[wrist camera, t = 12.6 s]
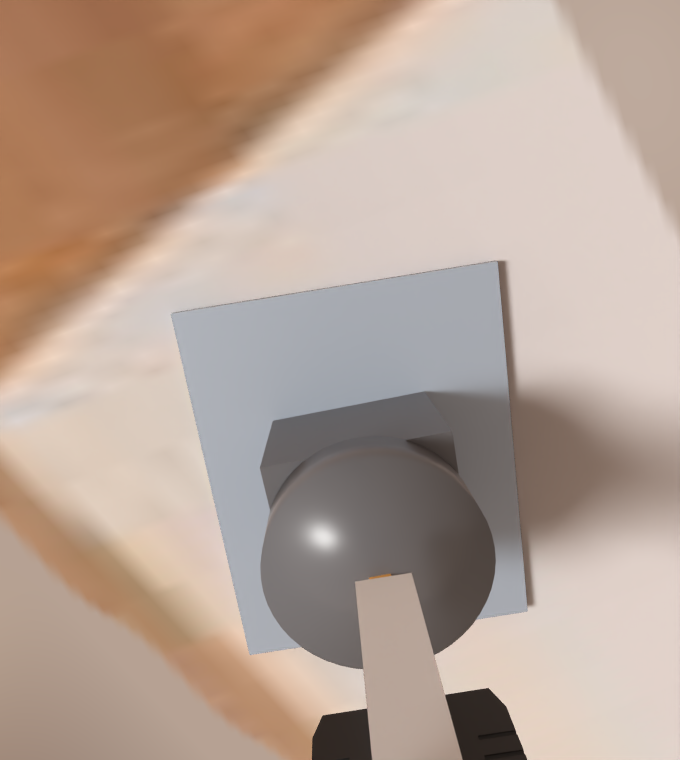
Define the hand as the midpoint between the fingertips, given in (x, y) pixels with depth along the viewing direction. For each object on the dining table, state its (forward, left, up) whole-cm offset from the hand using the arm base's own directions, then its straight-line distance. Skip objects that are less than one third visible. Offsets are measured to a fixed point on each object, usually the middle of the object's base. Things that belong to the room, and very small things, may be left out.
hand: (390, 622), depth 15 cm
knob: (0, 0, -9) cm, 9 cm away
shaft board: (0, 0, -10) cm, 10 cm away
